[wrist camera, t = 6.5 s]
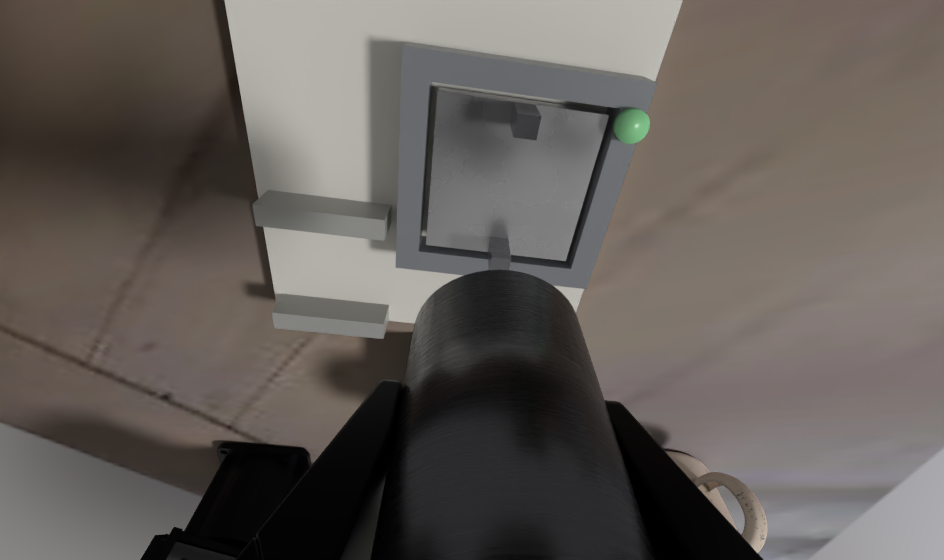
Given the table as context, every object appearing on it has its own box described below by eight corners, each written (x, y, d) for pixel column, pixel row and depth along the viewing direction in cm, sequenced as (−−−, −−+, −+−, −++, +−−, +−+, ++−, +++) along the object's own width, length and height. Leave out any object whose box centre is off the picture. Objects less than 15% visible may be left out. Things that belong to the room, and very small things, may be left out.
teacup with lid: (662, 519, 36) (730, 708, 26) (570, 497, 34) (607, 692, 25) (764, 441, 30) (902, 652, 20) (658, 409, 28) (754, 625, 18)
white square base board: (283, 300, 23) (262, 332, 21) (223, -72, 14) (176, -86, 12) (564, 329, 24) (573, 363, 22) (673, 0, 15) (708, 0, 13)
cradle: (427, 236, 19) (421, 266, 17) (439, 87, 16) (432, 101, 13) (562, 252, 20) (573, 283, 17) (603, 110, 16) (623, 127, 14)
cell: (409, 387, 11) (331, 843, 5) (419, 259, 9) (300, 799, 3) (556, 401, 11) (647, 850, 5) (600, 281, 9) (843, 815, 3)
